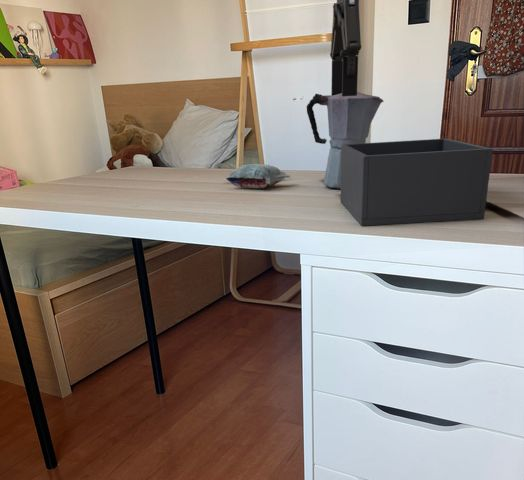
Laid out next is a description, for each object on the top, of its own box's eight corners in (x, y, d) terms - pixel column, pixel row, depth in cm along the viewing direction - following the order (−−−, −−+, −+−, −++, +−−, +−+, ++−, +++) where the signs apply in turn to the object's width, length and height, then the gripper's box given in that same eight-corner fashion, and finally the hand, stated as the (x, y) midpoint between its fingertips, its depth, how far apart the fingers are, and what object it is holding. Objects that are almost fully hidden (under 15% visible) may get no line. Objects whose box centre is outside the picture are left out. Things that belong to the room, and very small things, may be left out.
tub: (440, 196, 97) (446, 138, 93) (483, 218, 80) (493, 148, 75) (340, 202, 97) (341, 144, 93) (361, 226, 80) (363, 156, 75)
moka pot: (380, 189, 107) (385, 79, 98) (304, 191, 110) (303, 84, 101) (379, 182, 116) (384, 80, 107) (309, 183, 118) (308, 84, 110)
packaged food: (249, 182, 124) (248, 160, 122) (291, 185, 118) (290, 162, 115) (225, 189, 118) (223, 166, 116) (268, 192, 112) (266, 168, 109)
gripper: (317, -20, 107) (317, 96, 116) (335, -50, 85) (333, 97, 94) (354, -22, 107) (350, 94, 116) (382, -52, 85) (375, 95, 94)
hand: (343, 96), depth 105 cm, fingers open, 13 cm apart
